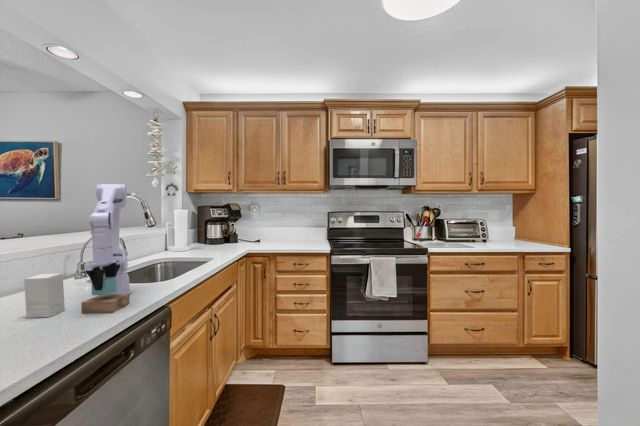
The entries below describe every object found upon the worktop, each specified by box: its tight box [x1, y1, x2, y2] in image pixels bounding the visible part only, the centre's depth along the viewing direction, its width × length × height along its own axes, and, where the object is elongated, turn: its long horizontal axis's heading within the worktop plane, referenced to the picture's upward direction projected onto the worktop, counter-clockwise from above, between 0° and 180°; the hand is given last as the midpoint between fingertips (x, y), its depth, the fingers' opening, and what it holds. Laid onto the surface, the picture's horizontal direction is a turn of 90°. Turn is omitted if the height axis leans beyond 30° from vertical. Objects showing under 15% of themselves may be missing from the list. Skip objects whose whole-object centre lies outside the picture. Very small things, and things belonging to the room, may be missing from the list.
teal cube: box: [91, 277, 116, 296], centre depth 117 cm, size 5×5×5 cm
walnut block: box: [81, 294, 131, 315], centre depth 118 cm, size 10×10×4 cm
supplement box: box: [23, 273, 66, 319], centre depth 113 cm, size 7×7×13 cm
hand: (104, 288), depth 117 cm, fingers closed on teal cube, 5 cm apart
